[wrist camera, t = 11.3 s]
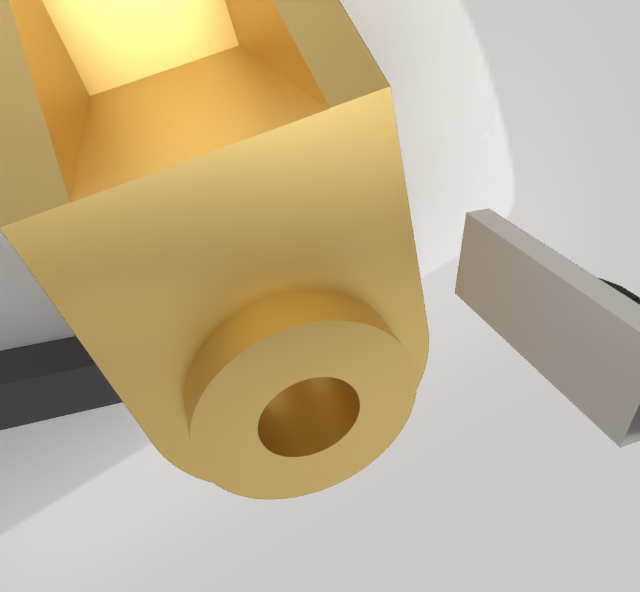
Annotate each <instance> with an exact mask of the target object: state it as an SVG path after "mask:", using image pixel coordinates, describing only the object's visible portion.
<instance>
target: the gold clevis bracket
mask: <svg viewBox="0 0 640 592" xmlns="http://www.w3.org/2000/svg"><path fill="white" fill-rule="evenodd" d="M0 230H1V231H2V232H3V234H4V235H5V237H6V238H7V240H8V241H9V242H10V244H11V245H12V247H13V248H14V249H15V251H16V252H17V254H18V255H19V256H20V258H21V259H22V261H23V262H24V263H25V265H26V266H27V268H28V269H29V270H30V272H31V273H32V275H33V276H34V277H35V279H36V280H37V282H38V283H39V285H40V286H41V287H42V289H43V290H44V292H45V293H46V294H47V296H48V297H49V299H50V300H51V301H52V303H53V304H54V306H55V307H56V308H57V310H58V311H59V313H60V314H61V315H62V317H63V318H64V320H65V321H66V322H67V324H68V325H69V327H70V328H71V330H72V331H73V332H74V334H75V335H76V337H77V338H78V339H79V341H80V342H81V344H82V345H83V346H84V348H85V349H86V351H87V352H88V353H89V355H90V356H91V358H92V359H93V360H94V362H95V363H96V365H97V366H98V367H99V369H100V370H101V372H102V373H103V375H104V376H105V377H106V379H107V380H108V382H109V383H110V384H111V386H112V387H113V389H114V390H115V391H116V393H117V394H118V396H119V397H120V398H121V400H122V401H123V403H124V404H125V405H126V407H127V408H128V410H129V411H130V413H131V414H132V415H133V417H134V418H135V420H136V421H137V422H138V424H139V425H140V427H141V428H142V429H143V431H144V432H145V434H146V435H147V436H148V438H149V439H150V441H151V442H152V443H153V445H154V446H155V447H156V449H157V450H158V451H159V452H160V453H161V454H162V455H163V456H164V457H165V458H166V459H167V460H168V461H169V462H171V463H172V464H173V465H174V466H176V467H177V468H179V469H181V470H182V471H184V472H186V473H188V474H190V475H192V476H194V477H197V478H200V479H202V480H205V481H208V482H212V483H214V484H216V485H217V486H219V487H221V488H222V489H224V490H226V491H228V492H231V493H233V494H237V495H240V496H244V497H249V498H255V499H286V498H293V497H298V496H303V495H307V494H311V493H314V492H318V491H321V490H323V489H326V488H329V487H331V486H333V485H336V484H338V483H340V482H342V481H344V480H346V479H347V478H349V477H351V476H353V475H355V474H356V473H358V472H359V471H361V470H362V469H364V468H365V467H366V466H368V465H369V464H370V463H372V462H373V461H374V460H375V459H376V458H378V457H379V456H380V455H381V454H382V453H383V452H384V451H385V450H386V449H387V448H388V447H389V446H390V445H391V443H392V442H393V441H394V440H395V439H396V437H397V436H398V435H399V433H400V432H401V430H402V428H403V427H404V425H405V424H406V422H407V420H408V418H409V416H410V413H411V411H412V408H413V405H414V402H415V396H416V390H417V388H418V386H419V383H420V381H421V379H422V376H423V373H424V370H425V366H426V363H427V358H428V351H429V331H428V325H427V317H426V311H425V304H424V298H423V292H422V285H421V279H420V272H419V266H418V260H417V253H416V247H415V240H414V234H413V228H412V221H411V215H410V208H409V202H408V196H407V189H406V183H405V176H404V170H403V164H402V157H401V151H400V144H399V138H398V132H397V125H396V119H395V113H394V106H393V100H392V93H391V87H390V85H389V83H388V81H387V80H386V78H385V76H384V75H383V73H382V71H381V70H380V68H379V66H378V65H377V63H376V61H375V59H374V58H373V56H372V54H371V53H370V51H369V49H368V48H367V46H366V44H365V43H364V41H363V39H362V38H361V36H360V34H359V33H358V31H357V29H356V27H355V26H354V24H353V22H352V21H351V19H350V17H349V16H348V14H347V12H346V11H345V9H344V7H343V6H342V4H341V2H340V1H339V0H0Z"/></svg>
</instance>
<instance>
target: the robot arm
mask: <svg viewBox="0 0 640 592" xmlns="http://www.w3.org/2000/svg"><path fill="white" fill-rule="evenodd" d="M455 293H456V294H457V295H458V296H459V297H460V298H461V299H462V300H463V301H464V302H465V303H466V304H467V305H468V306H469V307H471V308H472V309H473V310H474V311H475V312H476V313H477V314H478V315H479V316H480V317H481V318H482V319H483V320H484V321H485V322H487V323H488V324H489V325H490V326H491V327H492V328H493V329H494V330H495V331H496V332H497V333H498V334H499V335H500V336H502V337H503V338H504V339H505V340H506V341H507V342H508V343H509V344H510V345H511V346H512V347H513V348H514V349H516V350H517V352H519V353H520V354H521V355H522V356H523V357H524V358H525V359H526V360H527V361H528V362H529V363H531V365H532V366H533V367H535V368H536V369H537V370H538V371H539V372H540V373H541V374H542V375H543V376H544V377H545V378H546V379H547V380H548V381H550V382H551V383H552V384H553V385H554V386H555V387H556V388H557V389H558V390H559V391H560V392H561V393H562V394H563V395H565V396H566V397H567V398H568V399H569V400H570V401H571V402H572V403H573V404H574V405H575V406H576V407H577V408H578V409H579V410H580V411H582V412H583V413H584V414H585V415H586V416H587V417H588V418H589V419H590V420H591V421H592V422H593V423H594V424H595V425H597V426H598V427H599V428H600V429H601V430H602V431H603V432H604V433H605V434H606V435H607V436H608V437H609V438H610V439H611V440H613V441H614V442H615V443H616V444H617V445H618V446H619V447H623V446H626V445H629V444H632V443H635V442H637V441H640V298H639V297H638V296H636V295H634V294H633V293H631V292H630V291H628V290H626V289H625V288H623V287H621V286H619V285H616V284H614V283H611V282H609V281H606V280H603V279H600V278H597V277H595V276H594V275H592V274H591V273H589V272H588V271H586V270H584V269H583V268H581V267H580V266H578V265H577V264H575V263H573V262H572V261H570V260H569V259H567V258H565V257H564V256H563V255H561V254H559V253H558V252H556V251H554V250H553V249H552V248H550V247H548V246H547V245H545V244H543V243H542V242H541V241H539V240H537V239H536V238H534V237H533V236H531V235H529V234H528V233H526V232H525V231H523V230H522V229H520V228H519V227H517V226H515V225H514V224H512V223H511V222H509V221H508V220H506V219H505V218H503V217H501V216H500V215H498V214H497V213H495V212H494V211H492V210H490V209H484V210H479V211H473V212H468V213H466V219H465V226H464V233H463V240H462V246H461V253H460V260H459V267H458V274H457V281H456V288H455Z"/></svg>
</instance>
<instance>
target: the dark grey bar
mask: <svg viewBox="0 0 640 592" xmlns="http://www.w3.org/2000/svg"><path fill="white" fill-rule="evenodd" d="M121 402H123V401H122V400H121V398H120V397H119V396H118V394H117V393H116V391H115V390H114V389H113V387H112V386H111V384H110V383H109V382H108V380H107V379H106V377H105V376H104V375H103V373H102V372H101V370H100V369H99V367H98V366H97V365H96V363H95V362H94V360H93V359H92V358H91V356H90V355H89V353H88V352H87V351H86V349H85V348H84V346H83V345H82V344H81V342H80V341H79V339H78V338H77V337H72V338H66V339H61V340H56V341H51V342H46V343H41V344H36V345H31V346H25V347H20V348H15V349H10V350H5V351H0V430H3V429H8V428H12V427H17V426H21V425H25V424H30V423H34V422H38V421H43V420H47V419H51V418H56V417H60V416H64V415H69V414H73V413H77V412H82V411H86V410H91V409H95V408H99V407H104V406H108V405H112V404H117V403H121Z"/></svg>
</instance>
